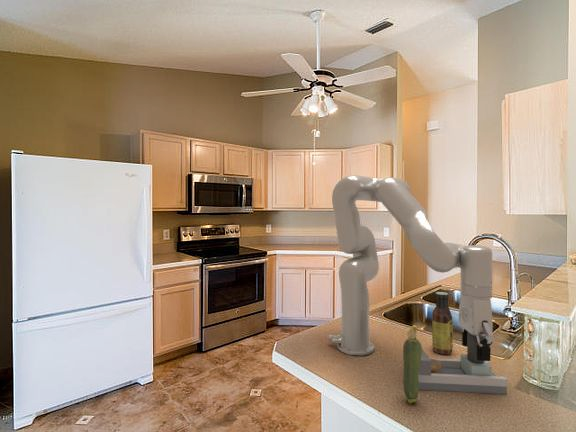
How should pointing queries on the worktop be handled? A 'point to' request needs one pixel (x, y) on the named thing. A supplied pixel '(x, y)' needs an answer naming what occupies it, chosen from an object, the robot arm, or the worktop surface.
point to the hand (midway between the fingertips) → (475, 352)
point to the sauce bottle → (442, 325)
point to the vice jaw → (474, 359)
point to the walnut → (435, 366)
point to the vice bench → (457, 378)
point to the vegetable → (411, 365)
